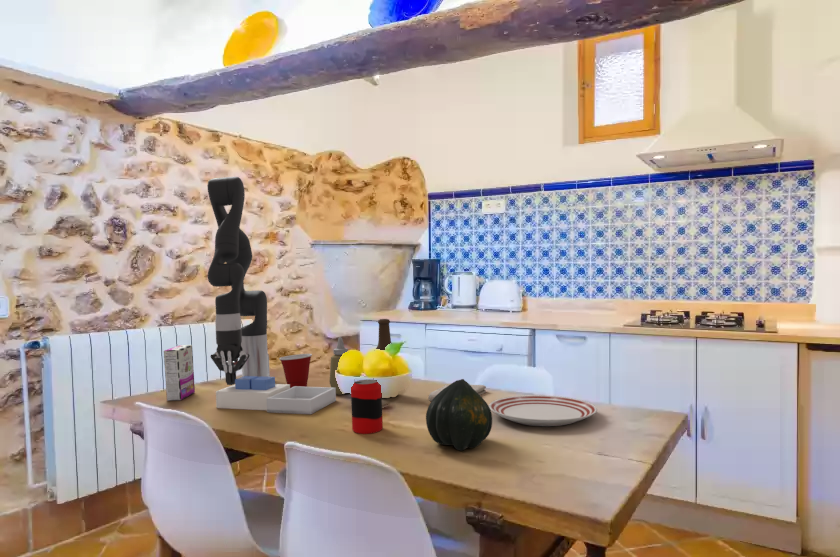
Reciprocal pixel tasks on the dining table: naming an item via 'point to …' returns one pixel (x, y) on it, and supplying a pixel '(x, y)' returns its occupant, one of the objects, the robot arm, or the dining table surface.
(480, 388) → the washcloth
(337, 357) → the squeeze bottle
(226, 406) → the white flat block
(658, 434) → the dining table surface
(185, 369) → the candy bar box
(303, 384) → the plastic cup
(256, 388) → the tile
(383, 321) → the beer bottle
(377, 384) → the soda can
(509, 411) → the dinner plate
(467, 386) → the squash
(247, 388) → the tile
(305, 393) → the box
